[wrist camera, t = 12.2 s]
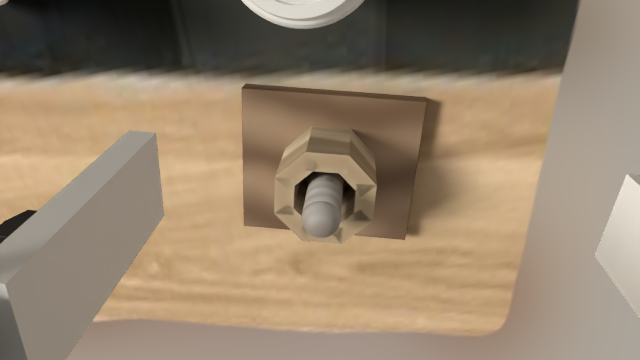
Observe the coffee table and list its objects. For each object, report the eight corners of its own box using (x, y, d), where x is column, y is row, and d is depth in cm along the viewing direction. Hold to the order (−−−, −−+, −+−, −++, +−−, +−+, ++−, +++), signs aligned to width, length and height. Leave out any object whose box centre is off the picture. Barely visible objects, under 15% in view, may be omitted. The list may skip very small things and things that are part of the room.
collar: (285, 123, 44) (275, 149, 38) (377, 131, 43) (379, 158, 38) (283, 203, 47) (273, 237, 42) (368, 211, 47) (369, 246, 41)
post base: (245, 83, 44) (207, 130, 33) (424, 97, 43) (445, 149, 32) (247, 217, 50) (215, 293, 39) (403, 231, 49) (415, 312, 39)
